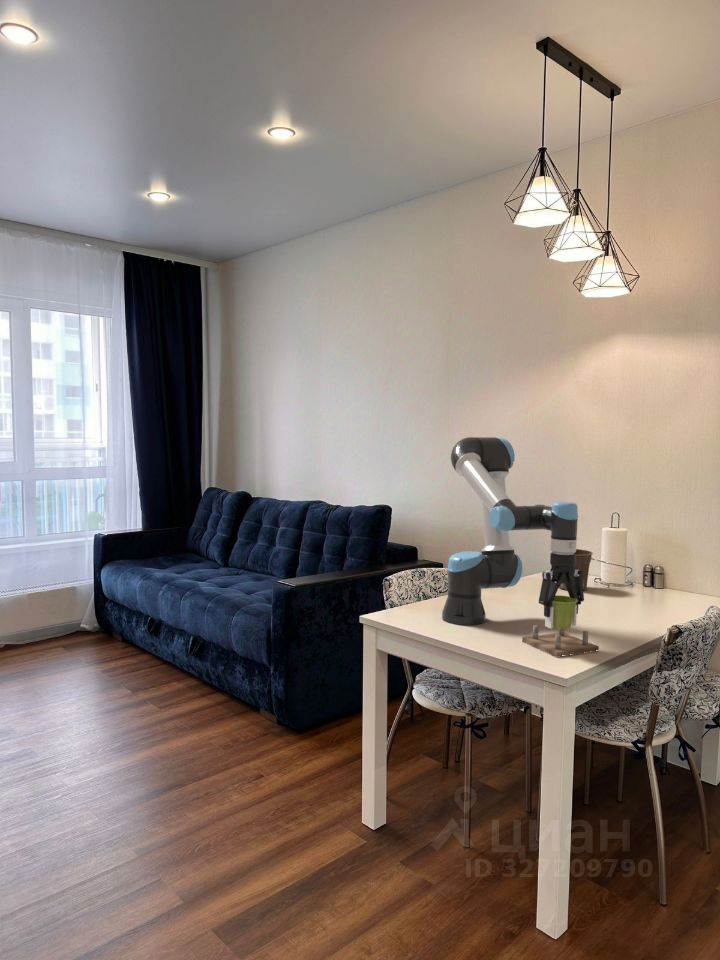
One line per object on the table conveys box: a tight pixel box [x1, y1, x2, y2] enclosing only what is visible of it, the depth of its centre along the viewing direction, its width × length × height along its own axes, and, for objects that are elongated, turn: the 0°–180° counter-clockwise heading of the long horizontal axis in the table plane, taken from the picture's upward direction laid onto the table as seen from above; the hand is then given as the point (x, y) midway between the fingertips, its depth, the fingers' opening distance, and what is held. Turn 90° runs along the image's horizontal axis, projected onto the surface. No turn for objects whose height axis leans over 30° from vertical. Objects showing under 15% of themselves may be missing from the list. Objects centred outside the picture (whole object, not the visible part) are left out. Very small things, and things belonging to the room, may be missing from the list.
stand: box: [521, 624, 600, 657], centre depth 207 cm, size 16×16×6 cm
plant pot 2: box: [551, 594, 578, 630], centre depth 206 cm, size 9×9×9 cm
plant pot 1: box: [558, 548, 594, 591], centre depth 290 cm, size 16×16×16 cm
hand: (560, 625), depth 207 cm, fingers closed on plant pot 2, 8 cm apart
